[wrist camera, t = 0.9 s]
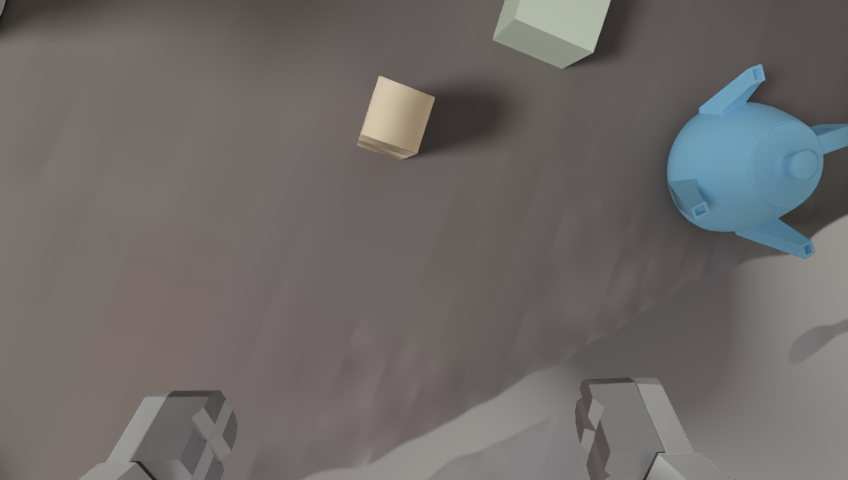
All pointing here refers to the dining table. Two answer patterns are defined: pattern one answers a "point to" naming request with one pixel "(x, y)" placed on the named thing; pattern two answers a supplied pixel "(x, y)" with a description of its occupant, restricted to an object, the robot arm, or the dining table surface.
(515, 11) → the sage cube
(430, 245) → the dining table surface
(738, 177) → the teapot
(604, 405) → the robot arm
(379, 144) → the beech block
